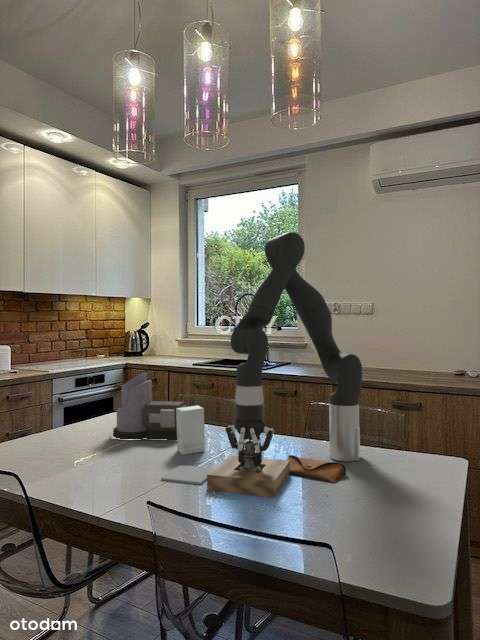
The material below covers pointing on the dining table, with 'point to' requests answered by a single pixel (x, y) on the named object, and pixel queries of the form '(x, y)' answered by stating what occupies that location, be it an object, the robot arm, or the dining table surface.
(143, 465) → the dining table surface
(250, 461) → the grey stone ornament
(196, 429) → the skincare box
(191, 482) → the grey mat
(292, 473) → the sunglasses case
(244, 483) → the pocket holder
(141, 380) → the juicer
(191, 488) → the dining table surface
